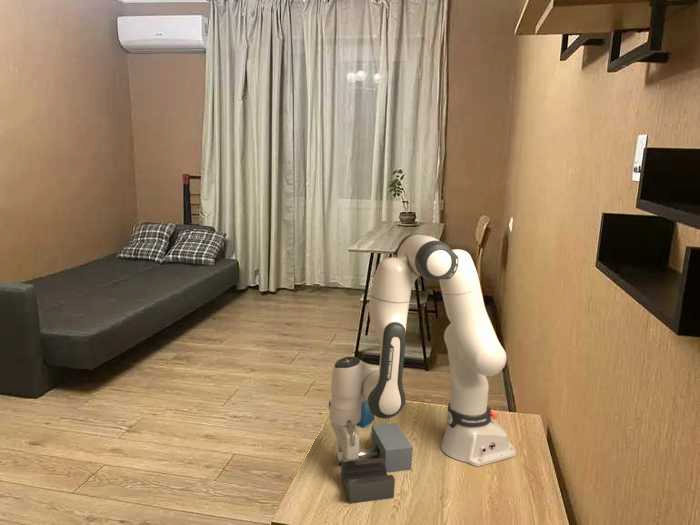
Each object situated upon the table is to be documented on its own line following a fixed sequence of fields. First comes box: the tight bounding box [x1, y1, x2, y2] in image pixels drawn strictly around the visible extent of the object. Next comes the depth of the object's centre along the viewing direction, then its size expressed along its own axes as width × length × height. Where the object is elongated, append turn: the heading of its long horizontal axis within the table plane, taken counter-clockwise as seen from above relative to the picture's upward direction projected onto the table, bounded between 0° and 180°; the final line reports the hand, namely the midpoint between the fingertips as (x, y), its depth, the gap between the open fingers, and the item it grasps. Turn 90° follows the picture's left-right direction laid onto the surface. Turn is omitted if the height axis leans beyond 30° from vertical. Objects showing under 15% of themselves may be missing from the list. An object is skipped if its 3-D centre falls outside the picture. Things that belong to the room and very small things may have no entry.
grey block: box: [370, 422, 413, 474], centre depth 155 cm, size 8×14×7 cm, turn 14°
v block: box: [340, 457, 396, 504], centre depth 140 cm, size 12×10×6 cm
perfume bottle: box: [356, 401, 375, 429], centre depth 175 cm, size 6×6×12 cm
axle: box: [336, 448, 380, 464], centre depth 153 cm, size 12×3×3 cm, turn 104°
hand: (343, 456), depth 152 cm, fingers closed on axle, 3 cm apart
